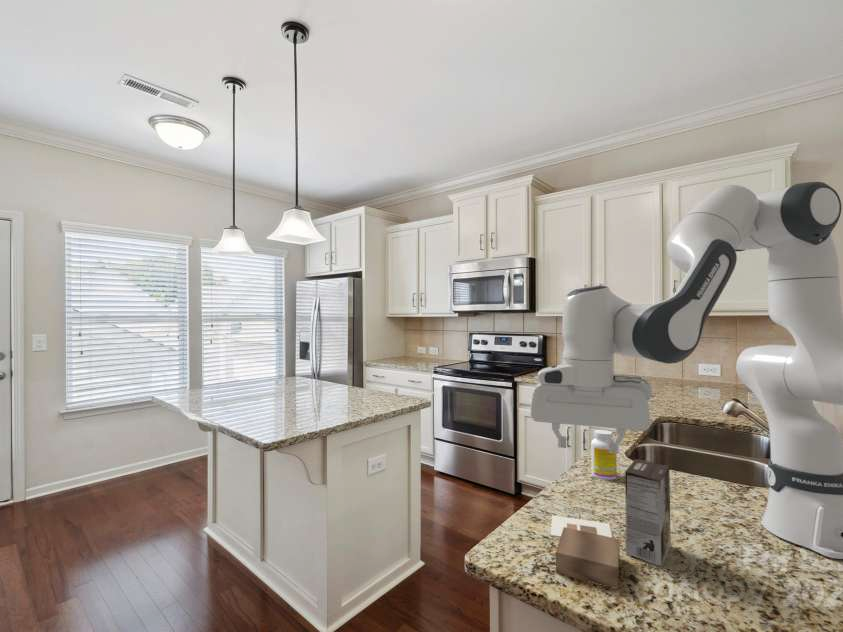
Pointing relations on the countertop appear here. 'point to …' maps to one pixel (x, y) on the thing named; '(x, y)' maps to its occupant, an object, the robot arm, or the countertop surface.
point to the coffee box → (647, 511)
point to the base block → (588, 557)
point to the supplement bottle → (602, 456)
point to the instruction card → (578, 526)
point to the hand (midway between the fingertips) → (587, 449)
